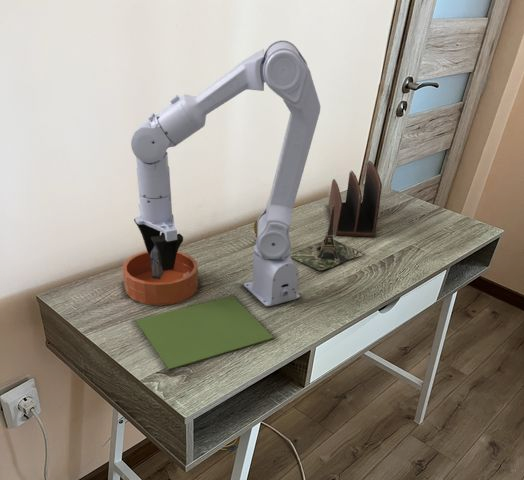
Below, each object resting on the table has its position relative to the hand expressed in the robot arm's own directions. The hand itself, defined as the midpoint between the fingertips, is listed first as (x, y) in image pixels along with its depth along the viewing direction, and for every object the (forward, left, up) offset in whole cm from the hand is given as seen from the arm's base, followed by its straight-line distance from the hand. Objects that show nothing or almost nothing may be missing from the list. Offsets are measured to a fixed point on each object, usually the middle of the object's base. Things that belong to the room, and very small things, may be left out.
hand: (160, 260), depth 104 cm
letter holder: (+11, -57, -6) cm, 58 cm away
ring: (+7, -29, -6) cm, 30 cm away
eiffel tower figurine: (-3, -39, -6) cm, 40 cm away
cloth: (-18, -1, -6) cm, 19 cm away
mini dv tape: (0, 0, -2) cm, 2 cm away
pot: (0, 0, -6) cm, 6 cm away
